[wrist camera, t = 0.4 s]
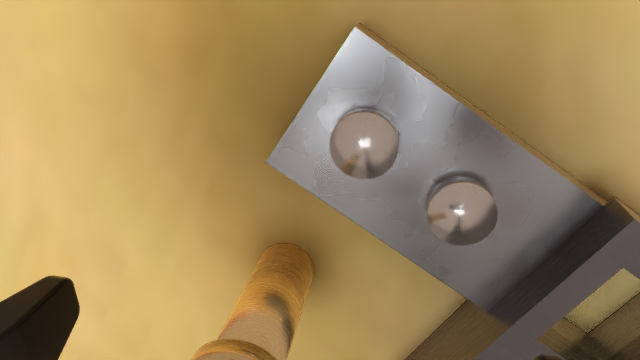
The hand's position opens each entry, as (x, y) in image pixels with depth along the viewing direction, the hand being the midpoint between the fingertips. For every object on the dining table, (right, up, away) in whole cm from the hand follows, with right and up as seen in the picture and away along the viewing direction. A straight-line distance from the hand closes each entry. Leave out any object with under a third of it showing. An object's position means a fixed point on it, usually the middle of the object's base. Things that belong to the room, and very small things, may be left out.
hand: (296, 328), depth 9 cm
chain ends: (+7, -1, +15) cm, 16 cm away
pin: (-1, -2, +17) cm, 17 cm away
